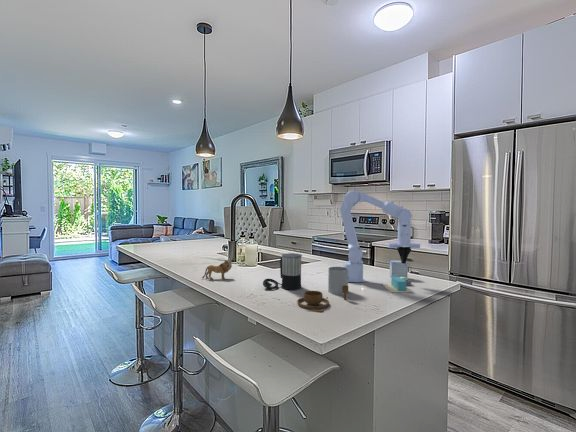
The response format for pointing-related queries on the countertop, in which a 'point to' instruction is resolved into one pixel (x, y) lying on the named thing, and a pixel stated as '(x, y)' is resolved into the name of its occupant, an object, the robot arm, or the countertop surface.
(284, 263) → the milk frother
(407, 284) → the button housing
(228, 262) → the lion figurine
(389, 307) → the countertop surface
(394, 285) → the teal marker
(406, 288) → the kraft paper
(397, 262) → the medicine box
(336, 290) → the cup
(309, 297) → the place setting
